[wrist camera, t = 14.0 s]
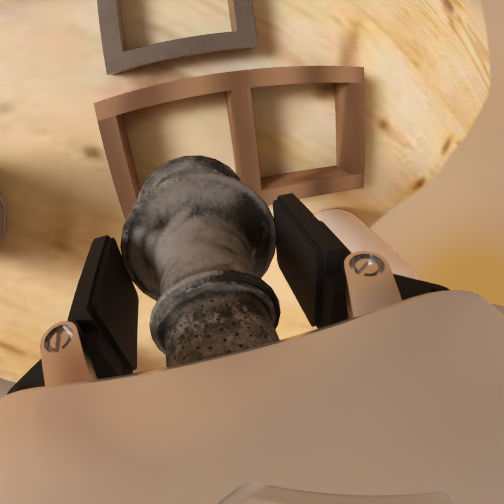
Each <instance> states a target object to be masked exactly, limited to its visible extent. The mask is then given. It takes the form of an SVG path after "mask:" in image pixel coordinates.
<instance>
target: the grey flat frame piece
mask: <svg viewBox="0 0 504 504" xmlns="http://www.w3.org/2000/svg"><path fill="white" fill-rule="evenodd" d="M97 4H98V14H99V23H100V31H101V39H102V46H103V53H104V59H105V65H106V71H107V75H113V74H117V73H120V72H123V71H127V70H131V69H134V68H138V67H142V66H146V65H150V64H154V63H159V62H163V61H168V60H173V59H178V58H183V57H188V56H194V55H200V54H207V53H214V52H221V51H230V50H239V49H251V48H254V47H257V46H258V44H257V36H256V28H255V20H254V12H253V4H252V0H228V4H229V12H230V20H231V27H232V32H224V33H215V34H207V35H200V36H194V37H188V38H182V39H176V40H171V41H166V42H161V43H157V44H152V45H148V46H144V47H140V48H136V49H132V50H129V51H126V50H125V43H124V36H123V28H122V20H121V12H120V2H119V0H97Z"/></svg>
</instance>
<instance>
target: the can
mask: <svg viewBox="0 0 504 504" xmlns="http://www.w3.org/2000/svg"><path fill="white" fill-rule="evenodd" d="M5 235H6V204H5V202H4V200H3V198H2V196H1V193H0V242H1V241H2V239H3V238H4V237H5Z"/></svg>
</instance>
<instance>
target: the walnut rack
mask: <svg viewBox="0 0 504 504" xmlns="http://www.w3.org/2000/svg"><path fill="white" fill-rule="evenodd" d="M302 83H334V87H335V108H336V147H337V166H331V167H324V168H317V169H311V170H305V171H298V172H292V173H286V174H281V175H275V176H269V177H264V178H260V170H259V161H258V151H257V142H256V133H255V124H254V115H253V106H252V98H251V89H250V88H253V87H263V86H273V85H286V84H302ZM223 91H225V94H226V101H227V109H228V116H229V123H230V131H231V138H232V145H233V152H234V160H235V167H236V174H237V175H238V176H239V178H240V180H241V182H242V183H244V184H246V185H247V186H249V187H251V188H252V189H253V190H254V191H255V192H256V193H257V194H258V195H259V196H260V197H261V198H262V199H263V200H264V201H265V202H266V204H267V205H271V204H273V200H277V197H278V196H279V195H284V194H289V193H293V194H294V195H295V196H296V197H297V198H298V199H301V198H306V197H312V196H317V195H322V194H328V193H333V192H339V191H345V190H350V189H356V188H362V187H363V186H364V164H365V84H364V67H347V66H297V67H276V68H263V69H252V70H242V71H234V72H226V73H219V74H212V75H206V76H200V77H194V78H189V79H184V80H179V81H174V82H169V83H164V84H160V85H156V86H152V87H148V88H144V89H140V90H136V91H132V92H129V93H125V94H122V95H118V96H115V97H112V98H108V99H105V100H102V101H99V102H96V103H94V106H95V111H96V116H97V120H98V124H99V129H100V133H101V137H102V141H103V145H104V149H105V153H106V156H107V160H108V164H109V167H110V171H111V174H112V178H113V181H114V185H115V188H116V191H117V195H118V198H119V201H120V204H121V207H122V211H123V214H124V217H125V220H127V218H128V215H129V213H130V211H131V209H132V208H133V206H134V205H135V204H136V203H137V201H138V196H139V192H140V190H141V189H140V185H139V181H138V178H137V174H136V170H135V166H134V162H133V158H132V154H131V150H130V146H129V142H128V137H127V133H126V129H125V124H124V120H123V115H122V114H123V113H126V112H130V111H133V110H137V109H141V108H144V107H148V106H152V105H156V104H161V103H165V102H169V101H174V100H179V99H184V98H189V97H194V96H199V95H205V94H210V93H217V92H223Z"/></svg>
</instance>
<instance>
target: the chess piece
mask: <svg viewBox="0 0 504 504" xmlns="http://www.w3.org/2000/svg"><path fill="white" fill-rule="evenodd" d="M120 247H121V253H122V259H123V262H124V265H125V267H126V270H127V272H128V274H129V276H130V278H131V280H132V281H133V282H134V283H135V284H136V286H137V287H138V288H139V289H140V290H141V291H142V292H143V293H144V294H146V295H148V296H149V297H151V298H152V299H154V300H156V301H157V303H156V304H155V306H154V308H153V310H152V313H151V318H150V331H151V336H152V339H153V341H154V342H155V344H156V346H157V347H158V349H159V350H161V351H162V352H163V353H164V354H165V355H166V364H167V367H172V366H177V365H182V364H186V363H191V362H196V361H200V360H205V359H209V358H213V357H218V356H222V355H226V354H230V353H234V352H238V351H242V350H246V349H250V348H254V347H257V346H261V345H265V344H268V343H272V342H276V341H279V337H278V335H277V333H276V330H275V329H276V327H277V326H278V322H279V317H280V306H279V300H278V298H277V296H276V295H275V293H274V291H273V289H272V288H271V287H270V286H269V285H268V284H267V283H265V282H264V281H263V280H262V279H261V278H262V277H263V275H264V274H265V273H266V271H267V270H268V268H269V266H270V263H271V261H272V259H273V257H274V254H275V248H276V230H275V221H274V218H273V216H272V214H271V212H270V210H269V208H268V206H267V204H266V202H265V201H264V200H263V199H262V198H261V197H260V196H259V195H258V194H257V193H256V192H255V191H254V190H253V189H252V188H251V187H249V186H247V185H246V184H244V183H242V182H241V180H240V178H239V176H238V175H237V174H236V173H235V172H234V171H233V170H232V169H231V168H230V167H229V166H227V165H225V164H223V163H222V162H220V161H218V160H216V159H213V158H209V157H205V156H183V157H180V158H177V159H173V160H170V161H168V162H167V163H165V164H163V165H162V166H160V167H158V168H157V169H156V170H155V171H154V172H153V173H152V174H151V175H150V176H149V177H148V178H147V179H146V181H145V183H144V184H143V186H142V188H141V190H140V192H139V196H138V201H137V203H136V204H135V205H134V206H133V208H132V209H131V211H130V213H129V215H128V218H127V220H126V222H125V224H124V226H123V231H122V238H121V246H120Z"/></svg>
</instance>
